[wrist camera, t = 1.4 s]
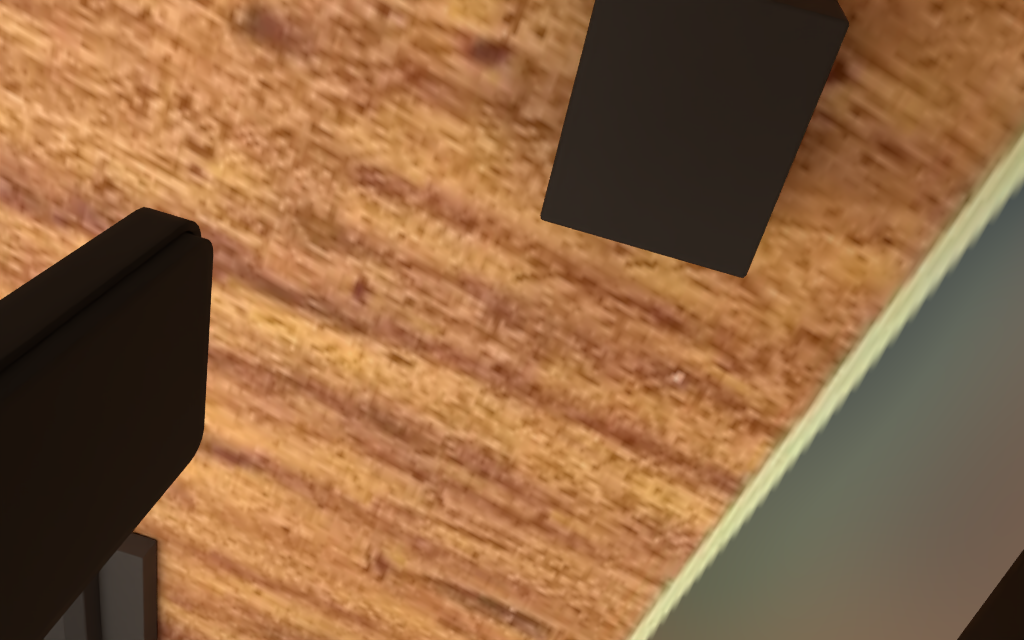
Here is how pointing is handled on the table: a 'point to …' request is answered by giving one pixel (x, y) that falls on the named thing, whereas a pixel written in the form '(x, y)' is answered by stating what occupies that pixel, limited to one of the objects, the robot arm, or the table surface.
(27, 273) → the table surface
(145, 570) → the pad base
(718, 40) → the loose pad
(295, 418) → the table surface
